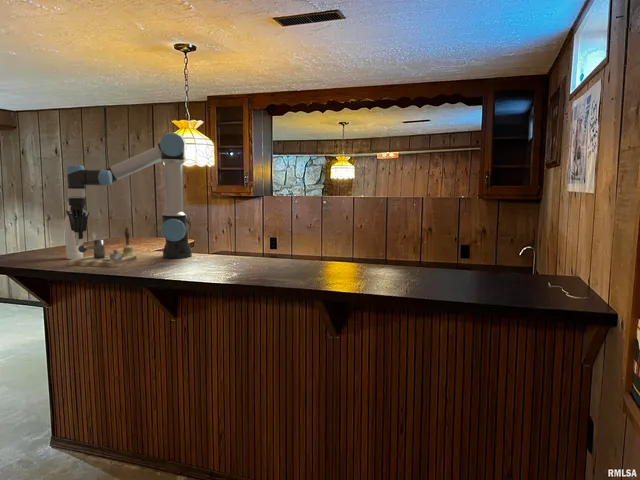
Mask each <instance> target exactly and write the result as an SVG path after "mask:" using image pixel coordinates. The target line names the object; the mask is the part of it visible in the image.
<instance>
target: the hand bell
mask: <svg viewBox="0 0 640 480" xmlns="http://www.w3.org/2000/svg"><path fill="white" fill-rule="evenodd" d="M130 233H131V231H130V229H129V227H128V226H127V227H125V229H124V237H125V246H124V247H123V251H122V252H121V253H122V256H136V257H137V256H138V255H137V254H136V253H135V252H134V249H133V246H132V245H130V237H131V236H130V235H131V234H130Z"/></svg>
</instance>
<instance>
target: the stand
mask: <svg viewBox="0 0 640 480" xmlns="http://www.w3.org/2000/svg"><path fill="white" fill-rule="evenodd" d="M118 251H119V250H118V249H114V250H113V251H112V253H110V254H109V255H105V258H94V254H89V255H85V256H83V257H81V258H77V259H69V260H67V261H66V265H67V266H76V267H77V266H78V267H81V266H82V267H111V268H118V267H121V266H124V265H126V264H129V263H132V262H135V261H137V256H122V253H123V252H118Z"/></svg>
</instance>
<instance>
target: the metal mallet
mask: <svg viewBox="0 0 640 480" xmlns="http://www.w3.org/2000/svg"><path fill="white" fill-rule="evenodd" d="M78 250H79V251H80V252H81V253H83V254H85V252H87V251H91V250H92V251H93V255H94V258H105V256H106V255H105V239H102V238H101V239H99V238H97V239H93V240H92V244H91V245H84V244H83V245H81V246H79V248H78Z"/></svg>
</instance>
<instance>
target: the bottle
mask: <svg viewBox="0 0 640 480" xmlns="http://www.w3.org/2000/svg"><path fill="white" fill-rule="evenodd" d="M66 205H67V206H66V207H67V211H70V208H71V206H70V205H69V201H67V202H66ZM75 217H76V216H75ZM63 225H64V226H63V228H64V237H65V238H64V239H65V256H66V260H74V259H77V258H81V257H84V253H81V252H80V251H79V250H78V248H79V246H76V239H75V232H74V231H72V230H71V226H70V221H69V216H68V215H66V217H65V218H64V220H63Z"/></svg>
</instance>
